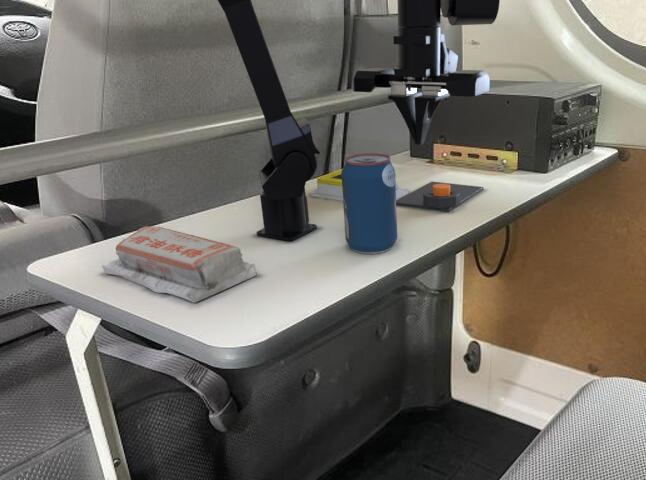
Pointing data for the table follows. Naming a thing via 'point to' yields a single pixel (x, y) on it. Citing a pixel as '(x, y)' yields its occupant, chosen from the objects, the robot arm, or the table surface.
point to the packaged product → (179, 263)
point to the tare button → (441, 190)
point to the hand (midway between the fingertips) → (419, 144)
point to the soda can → (369, 203)
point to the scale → (439, 197)
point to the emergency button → (340, 187)
